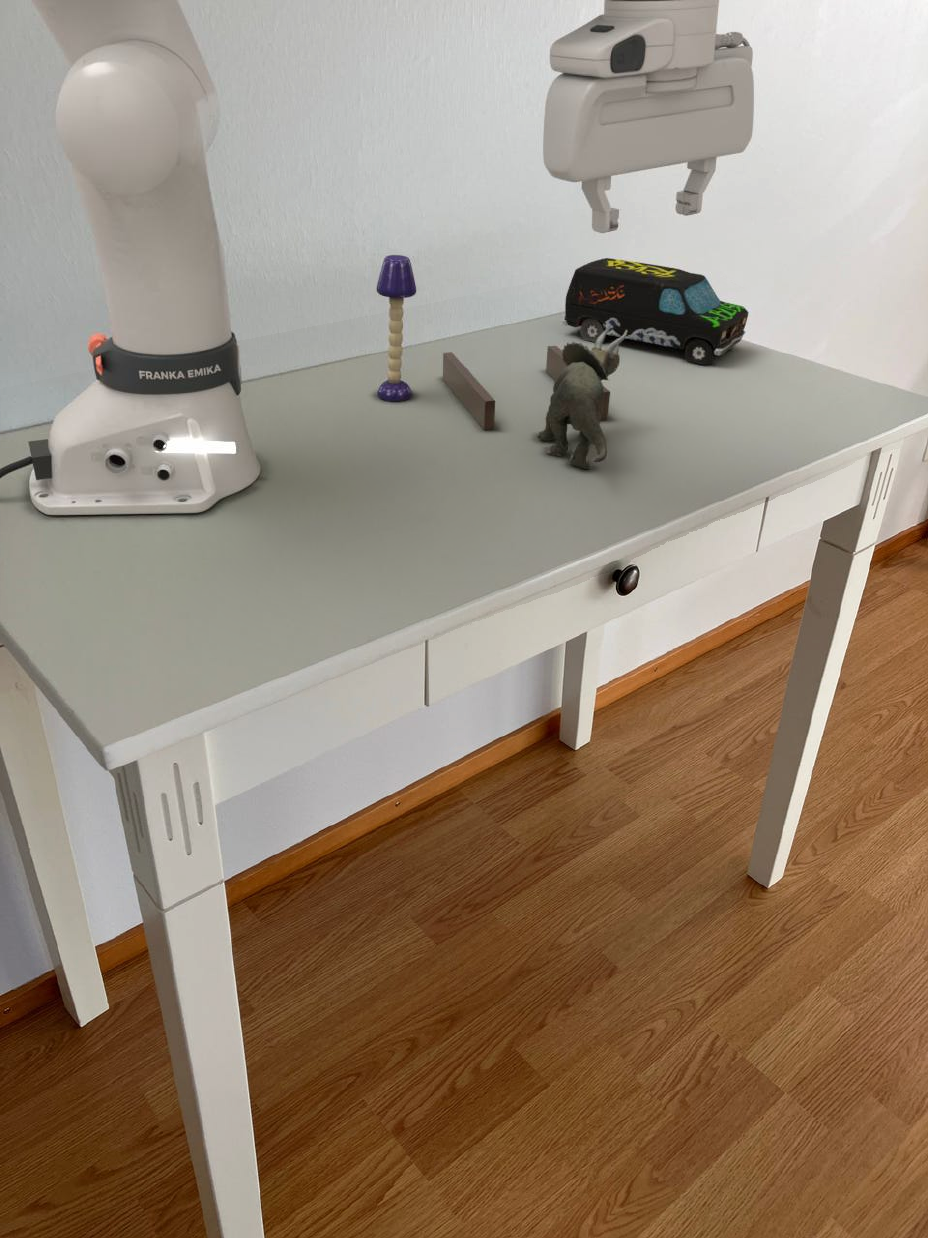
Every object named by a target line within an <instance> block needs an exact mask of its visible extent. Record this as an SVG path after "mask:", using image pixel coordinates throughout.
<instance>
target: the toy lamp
mask: <svg viewBox="0 0 928 1238" xmlns="http://www.w3.org/2000/svg"><path fill="white" fill-rule="evenodd" d="M415 280H416V279H415V275H414V271H413V267H412V262H411V259H410V258H409V257H408V256H406V255H401V254H389V255H387V256H385V257H384V259H383V262H382V265H381V269H380V273H379V276H378V279H377V283H376V293H377V294H378V295H379V296H382V297H386V298H388V302H389V305H390V307H389V310H388V316H389V321H388V329H389V334H388V343H389V346H388V347H387V353H388V360H387V367H388V371H387V380H385V381H383V382H382V383H380V385H379V387H378V389H377V396H378V398H379V399H381V400H383V401H386V402H387V401H388V402H403V401H407V400H410V399H411V398H412V397H413V393H412V390H411V387H410V385H409V384H408V383H407V382H406V381H403V380H402V371H401V369H402V365H403V359H402V356H403V346H402V344H403V340H404V335H403V333H402V332H403V329H404V322H403V317H404V307H403V306H404V301H405V299H407V298H411V297H414V296H415V295H416V294H417V285H416V281H415Z"/></svg>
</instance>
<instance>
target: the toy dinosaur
mask: <svg viewBox="0 0 928 1238" xmlns="http://www.w3.org/2000/svg"><path fill="white" fill-rule="evenodd" d="M610 328H611V327H608V328H607V329H606V330H605V331H604V332H603V333H602V334H601V335H600V336H599V337H598V339H597V341H596V342H594V345H593V347H592V349H590V348H589V347H588V346H587V345H583V344H582V342H579V343H578V342H575V341H572V342H571V343H570V342H567V343H566V345H565V344H564V345H563V349H561V350H562V352H563V353H562V354H561V355H562V357H563V361H564V362H565V363H566V366H567V367H565V368H564V369H563V370H562V371H561V373H560V374H559V375H558V376H557V379H556V381H555V380H554V384H553V387H552V391H553V393H552V394H551V395H550V400H549V403H550V404H549V405H548V411H547V413H546V416H545V429H543V430H542V431H540V432H538V436H537V439H539V440H540V441H542V442H545V441H546V442H549V441H554V439H555V445H550V446H548V448H547V451H546V454H548V455H551V456H559V457H563V456H565V455H566V453H567V452H568V451H569V440H568V434H567V433H568V425H570V426H571V427H572V429H573V430H574V431H576V432H579V442H578V444H577V445H576V447H574V450H573V452H572V453H571V456H570V460H569V465H572V466H575V467H578V468H580V469H584V470H591V469H592V468H591V464H590V463H588V462H587V457H588V455H589V451H590V448H591V445H593V446H594V447H595V450H596V452H597V455H596V456H594V457H593V458H592V462H593V463H602V462H604V461H605V460H606V458H607V457H608V446H607V445H608V444H607V441H606V439H605V434H604V432H603V429H602V427H601V421H602V420H601V416H602V413H603V409H604V389H603V386H604V385H603V382H602V381H603V380H604V381H609V376H610V375H612V374H613V373H615V372H616V371H617V370H618V367H619V366H620V361H621V359H620V358H621V357H620V355H619V354H620V353H619V352H620V346H619V345H620V344H621V343H622V342H623V341H624V340H625V339H626V338H625V337H626V335H627V330H626V331H625V333H624V335H623V336H622V337H617V338H616V339H615V340H614V341H612V342H611V343H609V344H608V345H607V346H606V347H605V349H602V348H603V347H602V346H603V344H604V343H603V339H604V337H605V335H606V336H607V332H608V331H609V329H610Z"/></svg>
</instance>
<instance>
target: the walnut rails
mask: <svg viewBox="0 0 928 1238" xmlns="http://www.w3.org/2000/svg"><path fill="white" fill-rule="evenodd" d="M546 350H547V351H546V364H545V365H546V366H545V373H546V374H547V375H548V376H550V377H551V378H552V379H553V380H554V382H555V381H556V379H557V376H558V375H559V374H560V373H561V371H562V370H563V369H564V368H565V367H567V366H566V363H565V362H564V361H563V357H562V355H561V354H562V353H563V352H562V349H561V348H560V347H558V346H557V345H548V346H547V349H546ZM442 380H443V381H444V382H445V384H446V385H447V387H449V389H450V390H451V391H452V393H453V394H454V395H455V396H456V398H457V399H458V400H459V402H461V404H462V405H463V406H464V407H465V409H466V410H467V411H468V412H469V414H470V415H471V416H472V418H473V419H474V420H475V421H476V422H477V423H478V425H479V426H480V427H481V428H482V430H483V431H492V430H495V417H496V416H495V412H496V400H495V399H494V398H493V396H492V395H491V393H489V392H488V390H486V388H484V386H483V385H482V384H481V383H480V382H479V381H478V379H477V378H476V377H475V376H474V375H473V374H472V373H471V372H470V370H468V368H467V367H466V366H465V365H464V364H463V362H462V361H460V360H459V358H458V357H457V356H456V354H454V353H453V352H452V351H450V352H449V351H447V352H442ZM603 389H604V409H603V413H602V416H601V420H600V421H607V420H608V419H609V410H610V409H609V408H610V398H611V391H610V390H609V389H608V388H607V387H605V386H604V385H603Z"/></svg>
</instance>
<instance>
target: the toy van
mask: <svg viewBox="0 0 928 1238" xmlns="http://www.w3.org/2000/svg"><path fill="white" fill-rule="evenodd" d="M564 303H565V305H564V309H565V312H564V314H565V315H564V318H563V319H561V321H562V324H563V326H564V327H565V326H569V327H572V328H579V327H580V329H579V331H580V332H579V333H580V336H581V338H582V340H584V341H587V342H588V341H589V342H592V343H596V341H597V339H598V337H599V336H600V335H601V334H602V333H603V332H604V331H605V330H606V329H607V328H608V327H611V328H610V329H609V331H608V332H607V334H606V335H605V337H604V339H603V343H602V344H604V343H605V341H606V340H607V335H608V336H612V337H617V338H620V337H622V336H623V335H624V333H625V331H626V330H627V335H626V337H625V338H624V339H627V340H631V341H632V340H633V341H636V342H637V341H638V342H641V343H642V342H643V343H648V344H654V345H658V346H663V347H668V348H673V349H678V350H679V349H680V350H684V357H685V360H686V362H689V363H693V364H697V365H703V366H708V365H709V364H711V363H712V362H713V359H714V358H715V356H721V355H723V354H725V353H726V352H727V351H728V350H732V349H733V348H734V347H736V344H738V343H740V342H741V340H742V339H743V337H744V335H745V334H746V331H745V328H746V324H747V321H748V317H749V313H750V312H749V311H748V310H747V309H746V308H745V307H744V306H743V305H738V304H734V303H731V302H726V301H723V300H721V299H720V298H719V297H718V295H717V293H716V292H715V290H714V289H713V287H712V285H711V284H710V282H709V280H708V279H707V277H706V276H705V275H704V274H700V273H694V272H690V271H686V270H683V269H680V268H675V267H669V266H663V265H659V264H651V263H645V262H640V261H632V260H623V259H617V258H610V257H605V258H601V259H596V260H594V261H590V262H587V263H585V264H584V265H581V266H580V267H577V268H575V270H574V272H573V275H572V277H571V281H570V283H569V286H568V288H567V292H566V295H565V302H564Z"/></svg>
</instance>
